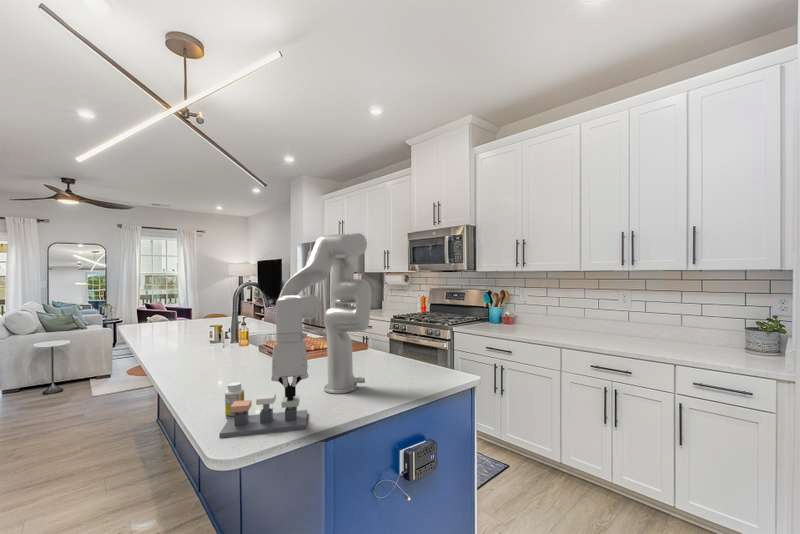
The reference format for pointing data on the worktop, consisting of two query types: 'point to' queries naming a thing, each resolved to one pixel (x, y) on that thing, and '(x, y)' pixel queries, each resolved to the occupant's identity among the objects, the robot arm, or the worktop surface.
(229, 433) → the keypad board
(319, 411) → the worktop surface
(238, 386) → the supplement bottle
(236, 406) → the key
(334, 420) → the worktop surface
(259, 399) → the key mid
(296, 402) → the green key
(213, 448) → the worktop surface
